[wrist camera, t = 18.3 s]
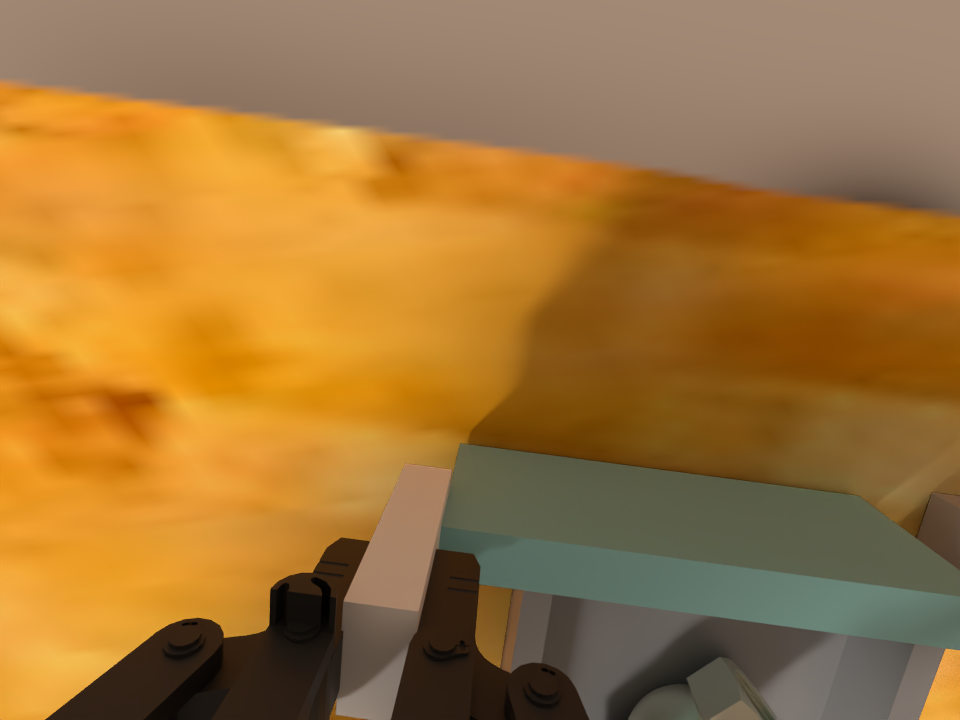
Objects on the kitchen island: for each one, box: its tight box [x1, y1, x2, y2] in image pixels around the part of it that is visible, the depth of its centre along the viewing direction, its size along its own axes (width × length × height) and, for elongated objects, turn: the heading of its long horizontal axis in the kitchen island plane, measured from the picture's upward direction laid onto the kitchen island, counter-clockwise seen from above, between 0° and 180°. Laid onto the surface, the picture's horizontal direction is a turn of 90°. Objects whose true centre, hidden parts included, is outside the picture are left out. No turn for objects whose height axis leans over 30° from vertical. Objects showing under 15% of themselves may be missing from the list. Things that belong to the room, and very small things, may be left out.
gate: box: [439, 443, 960, 650], centre depth 17 cm, size 2×15×6 cm, turn 84°
